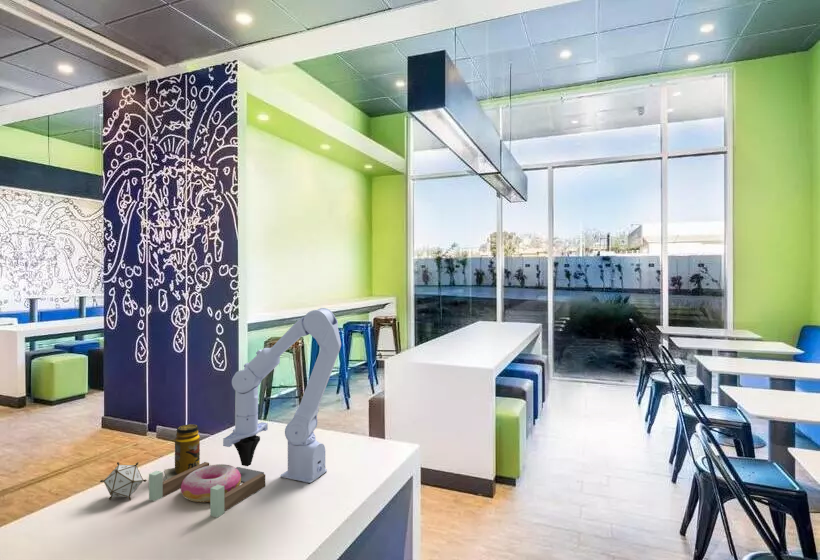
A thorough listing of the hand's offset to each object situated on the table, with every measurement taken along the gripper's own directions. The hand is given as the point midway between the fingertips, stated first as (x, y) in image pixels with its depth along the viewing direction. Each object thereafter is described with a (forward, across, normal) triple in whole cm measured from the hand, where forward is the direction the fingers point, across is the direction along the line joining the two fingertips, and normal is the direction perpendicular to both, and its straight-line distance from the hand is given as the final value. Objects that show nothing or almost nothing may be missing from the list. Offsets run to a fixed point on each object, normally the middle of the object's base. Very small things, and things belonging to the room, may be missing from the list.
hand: (246, 464), depth 122 cm
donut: (+2, +12, 0) cm, 12 cm away
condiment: (+2, +6, -16) cm, 17 cm away
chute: (+2, +12, 0) cm, 12 cm away
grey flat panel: (+2, +2, 0) cm, 3 cm away
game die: (+2, +22, -17) cm, 28 cm away
